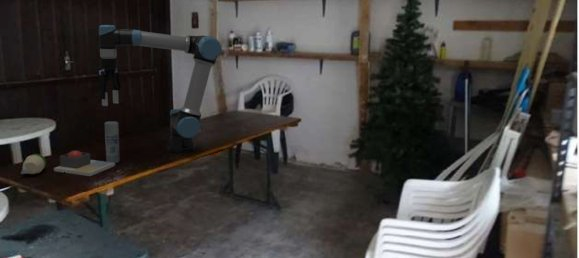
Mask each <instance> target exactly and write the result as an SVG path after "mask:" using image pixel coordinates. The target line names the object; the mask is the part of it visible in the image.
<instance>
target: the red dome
mask: <svg viewBox="0 0 579 258" xmlns="http://www.w3.org/2000/svg"><path fill="white" fill-rule="evenodd" d="M68 153H69V154H68ZM68 153H67V154H68V156H67V157H73V158H78V157H80V156H83V155H82V153H83V152H82V153H81V151H79V150H71V151H70V152H68Z"/></svg>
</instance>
